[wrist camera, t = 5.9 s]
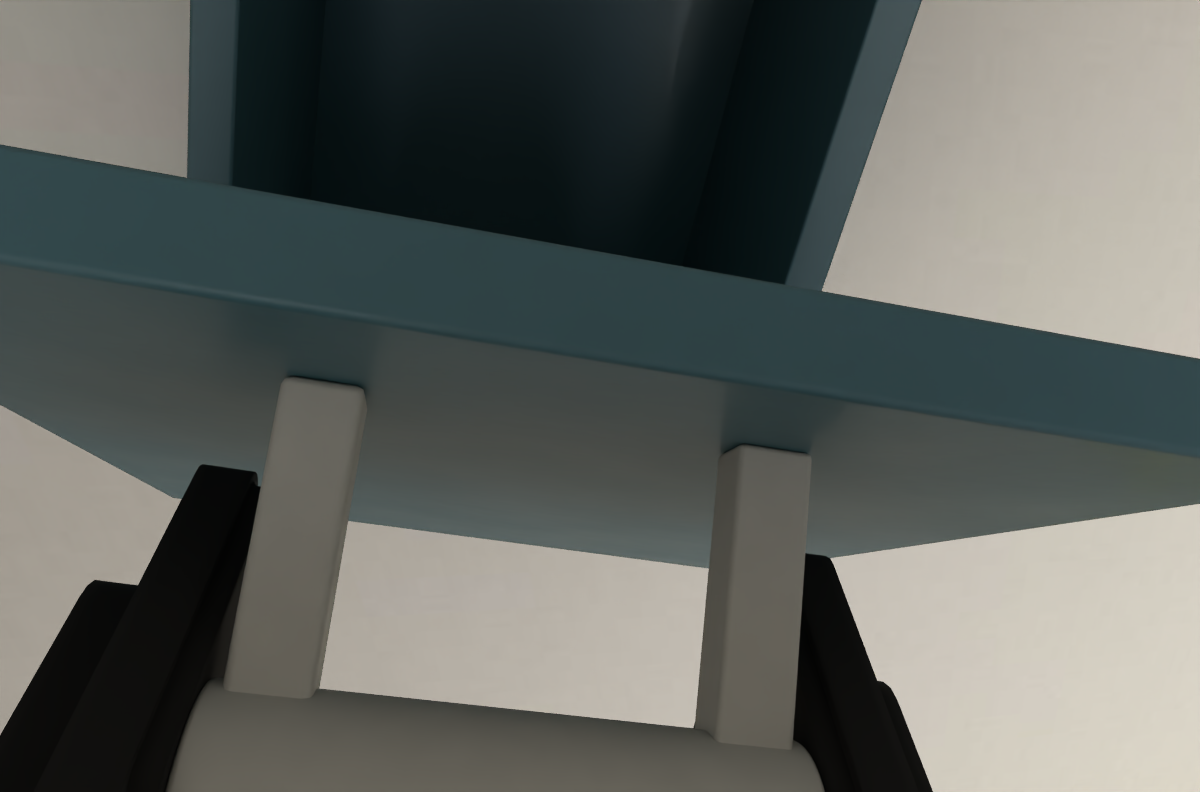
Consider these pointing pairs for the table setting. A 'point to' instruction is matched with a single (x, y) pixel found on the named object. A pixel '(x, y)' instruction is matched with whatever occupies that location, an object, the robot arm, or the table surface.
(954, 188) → the table surface
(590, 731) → the door
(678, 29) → the teal open container
